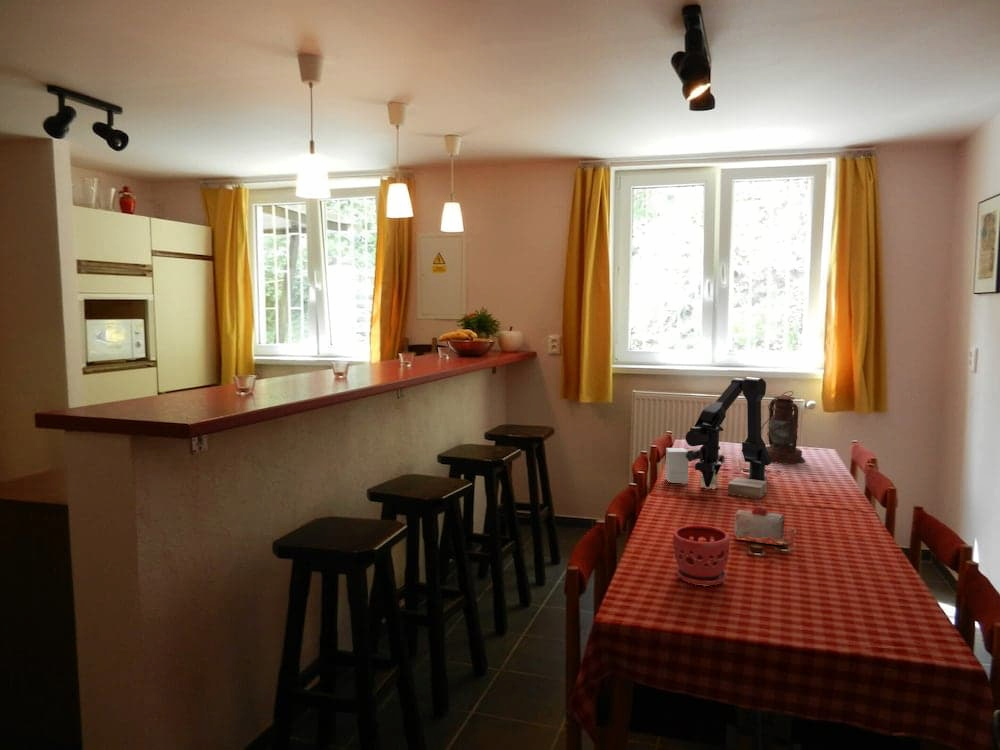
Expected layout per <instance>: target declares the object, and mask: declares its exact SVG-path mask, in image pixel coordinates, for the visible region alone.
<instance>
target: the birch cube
mask: <svg viewBox="0 0 1000 750" xmlns="http://www.w3.org/2000/svg"><path fill="white" fill-rule="evenodd" d="M717 486H718V487H719V473H718V474H714V476H713V478H712V481H711V483H710V486H709V487H706V485H705V481H704V477H703V474H702V473H701V475H700V488H701V487H705V488H712V489H715V488H716V487H717Z"/></svg>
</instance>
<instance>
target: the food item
mask: <svg viewBox="0 0 1000 750" xmlns="http://www.w3.org/2000/svg"><path fill="white" fill-rule="evenodd" d="M734 518H735V519H734V537H735V536H736V537H738V538H745V537H746V536H750V537H756V538H762V537H771V538H775V539H782V538H783V536H784V537H785V529H784V527H785V515H784V514H781V513H774V512H768V511H767V509H766V508H763V507H762V505H759V507H758V506H756V507H752V510H749V509H738V510H737V511H736V512H735V513H734ZM783 533H784V535H783ZM736 537H735V538H736Z"/></svg>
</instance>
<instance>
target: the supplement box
mask: <svg viewBox="0 0 1000 750" xmlns="http://www.w3.org/2000/svg"><path fill="white" fill-rule="evenodd" d="M688 451H689V450H687V449H686V447H683V448H682V447H665V480H666V479H667V481H668V482H672V483H688V479H689V476H688V474H689V473H688V472H689V461H688V458H686V453H687V452H688ZM667 481H666V482H667ZM668 482H667V483H668Z"/></svg>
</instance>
